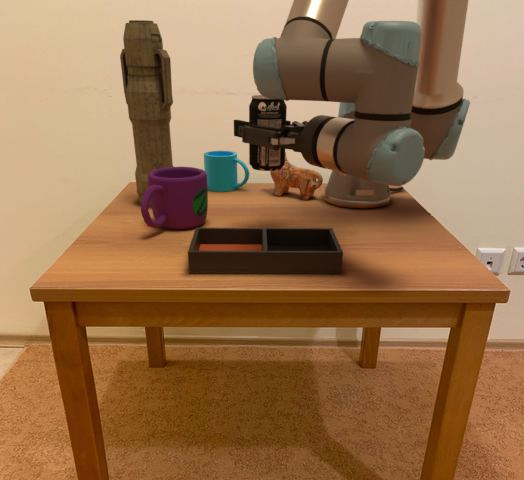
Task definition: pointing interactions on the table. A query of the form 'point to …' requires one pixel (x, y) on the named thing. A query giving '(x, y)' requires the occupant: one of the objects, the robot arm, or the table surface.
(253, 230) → the tray
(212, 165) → the mug
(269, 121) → the beverage can
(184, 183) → the mug
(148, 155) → the stone statue
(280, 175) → the figurine
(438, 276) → the table surface
